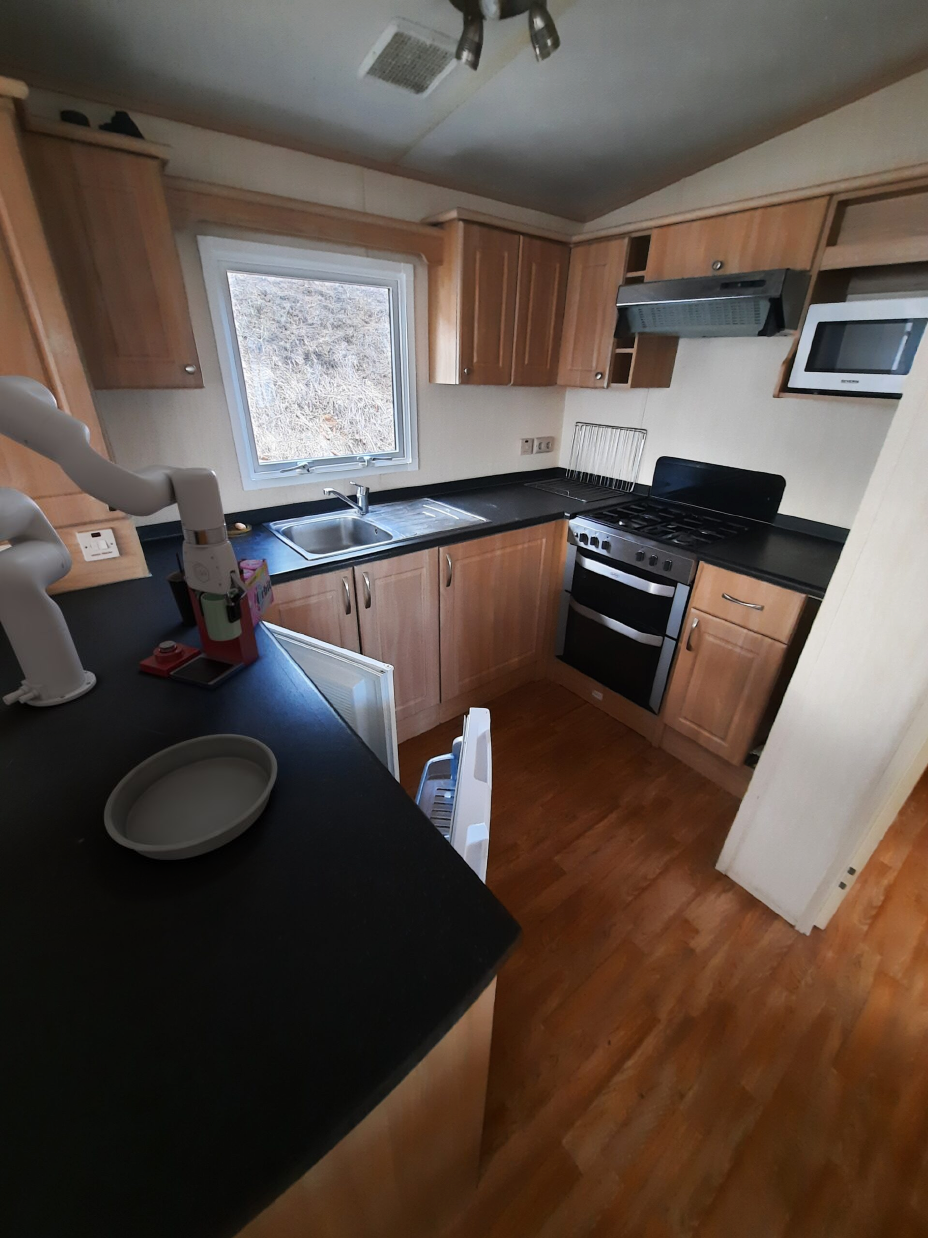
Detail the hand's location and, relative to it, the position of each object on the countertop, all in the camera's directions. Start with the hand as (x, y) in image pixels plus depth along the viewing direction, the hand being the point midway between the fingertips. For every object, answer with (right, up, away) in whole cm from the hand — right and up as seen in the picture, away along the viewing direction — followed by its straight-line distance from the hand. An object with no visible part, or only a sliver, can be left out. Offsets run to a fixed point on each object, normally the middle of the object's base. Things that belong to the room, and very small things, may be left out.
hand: (222, 616), depth 106 cm
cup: (0, -4, +2) cm, 4 cm away
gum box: (-10, 0, +38) cm, 39 cm away
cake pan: (+8, -31, -24) cm, 40 cm away
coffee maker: (-8, -12, +13) cm, 19 cm away
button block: (-19, -11, +15) cm, 26 cm away
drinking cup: (-24, -1, +35) cm, 42 cm away
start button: (-19, -8, +13) cm, 24 cm away
